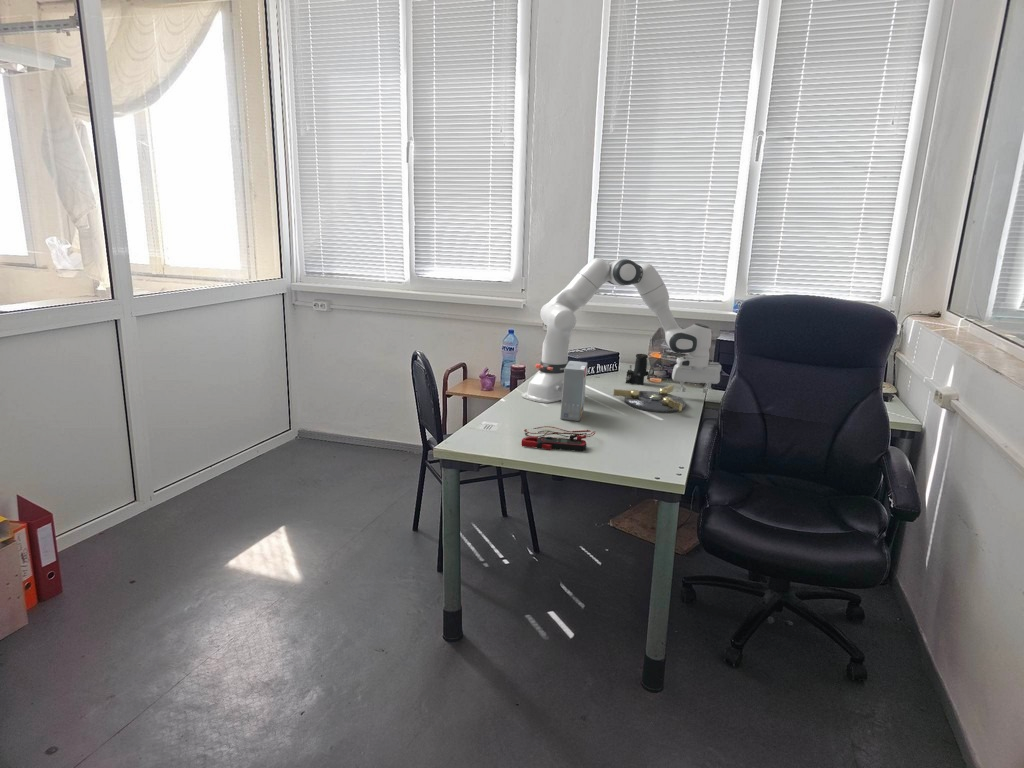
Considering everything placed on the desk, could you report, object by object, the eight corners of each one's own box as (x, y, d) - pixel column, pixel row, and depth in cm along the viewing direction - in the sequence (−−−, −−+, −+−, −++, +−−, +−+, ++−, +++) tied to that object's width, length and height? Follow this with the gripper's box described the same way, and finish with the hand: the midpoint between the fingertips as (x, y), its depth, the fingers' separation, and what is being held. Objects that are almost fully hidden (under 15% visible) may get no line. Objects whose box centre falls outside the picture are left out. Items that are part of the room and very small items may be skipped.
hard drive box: (580, 421, 239) (584, 370, 234) (559, 419, 241) (563, 368, 236) (583, 410, 254) (587, 361, 249) (564, 408, 255) (568, 359, 250)
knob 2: (660, 403, 260) (661, 396, 260) (667, 402, 262) (668, 395, 261) (676, 410, 251) (677, 403, 250) (684, 410, 252) (684, 403, 252)
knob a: (665, 396, 271) (666, 389, 270) (657, 394, 273) (658, 388, 272) (675, 391, 279) (676, 385, 279) (667, 390, 281) (668, 383, 281)
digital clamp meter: (596, 443, 206) (519, 436, 209) (595, 456, 207) (519, 449, 210) (595, 420, 229) (526, 414, 231) (594, 432, 230) (525, 426, 232)
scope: (630, 351, 301) (651, 354, 299) (627, 380, 305) (648, 382, 302) (627, 355, 294) (649, 357, 291) (624, 383, 298) (646, 386, 295)
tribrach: (669, 416, 251) (671, 407, 250) (613, 403, 265) (614, 394, 264) (693, 403, 270) (695, 395, 269) (640, 392, 284) (641, 383, 283)
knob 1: (638, 396, 269) (639, 389, 269) (639, 398, 266) (639, 391, 265) (613, 394, 271) (613, 387, 270) (613, 396, 267) (614, 389, 266)
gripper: (720, 361, 277) (715, 391, 281) (673, 358, 278) (669, 388, 281) (724, 364, 271) (719, 395, 275) (676, 361, 272) (672, 392, 275)
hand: (694, 392), depth 278 cm, fingers open, 8 cm apart
